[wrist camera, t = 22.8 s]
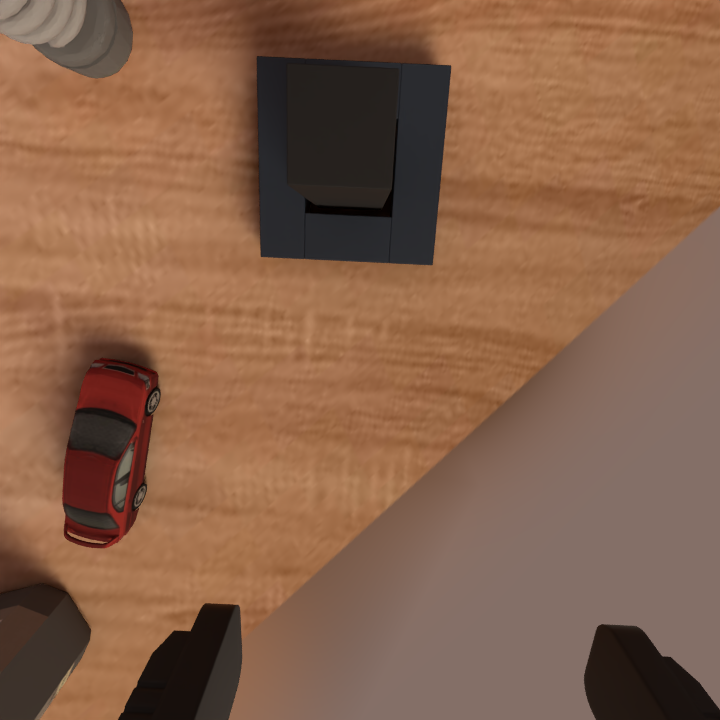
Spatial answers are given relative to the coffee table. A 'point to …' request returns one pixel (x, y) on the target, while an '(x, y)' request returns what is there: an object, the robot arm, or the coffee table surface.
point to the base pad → (409, 185)
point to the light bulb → (72, 32)
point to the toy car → (108, 451)
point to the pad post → (341, 134)
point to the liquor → (37, 648)
